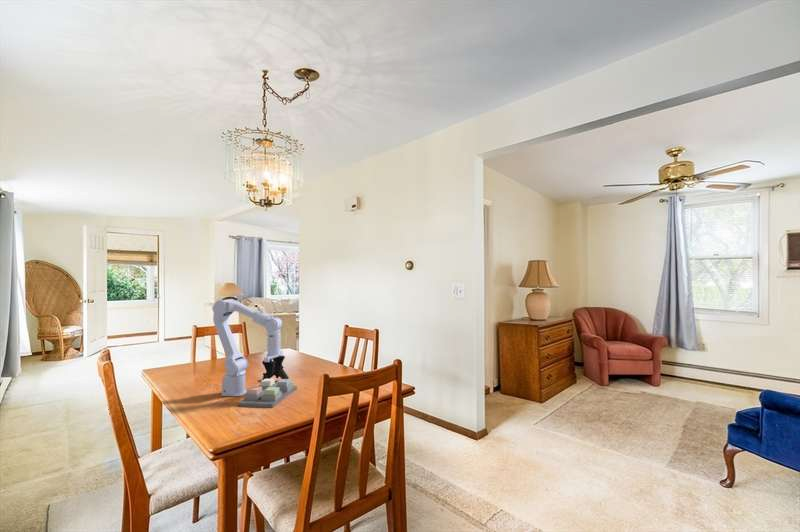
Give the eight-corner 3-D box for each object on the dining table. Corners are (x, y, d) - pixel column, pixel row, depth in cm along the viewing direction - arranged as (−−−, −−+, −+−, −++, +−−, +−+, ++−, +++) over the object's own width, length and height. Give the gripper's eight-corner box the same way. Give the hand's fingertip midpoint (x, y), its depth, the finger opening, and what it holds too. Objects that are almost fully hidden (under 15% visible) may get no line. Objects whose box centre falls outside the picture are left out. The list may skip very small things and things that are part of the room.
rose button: (246, 395, 158) (246, 389, 158) (252, 392, 163) (252, 386, 163) (256, 395, 157) (256, 389, 157) (262, 392, 162) (262, 386, 162)
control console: (238, 406, 154) (238, 397, 154) (267, 387, 179) (267, 380, 179) (272, 407, 152) (272, 398, 152) (296, 388, 177) (296, 380, 177)
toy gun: (288, 378, 189) (277, 361, 190) (270, 392, 190) (259, 376, 192) (290, 376, 191) (280, 360, 192) (272, 390, 193) (262, 374, 194)
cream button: (260, 386, 170) (260, 381, 170) (265, 383, 174) (265, 378, 175) (270, 387, 169) (270, 381, 169) (274, 384, 174) (274, 378, 174)
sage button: (264, 396, 157) (264, 390, 157) (269, 392, 162) (269, 386, 162) (274, 396, 156) (274, 390, 157) (279, 392, 161) (279, 387, 161)
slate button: (277, 387, 169) (277, 381, 169) (281, 384, 173) (281, 379, 174) (286, 387, 168) (286, 382, 168) (290, 384, 173) (290, 379, 173)
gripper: (275, 347, 161) (274, 378, 161) (289, 341, 176) (288, 370, 175) (259, 347, 162) (259, 378, 162) (274, 341, 176) (274, 369, 176)
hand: (273, 374), depth 169 cm, fingers open, 7 cm apart
